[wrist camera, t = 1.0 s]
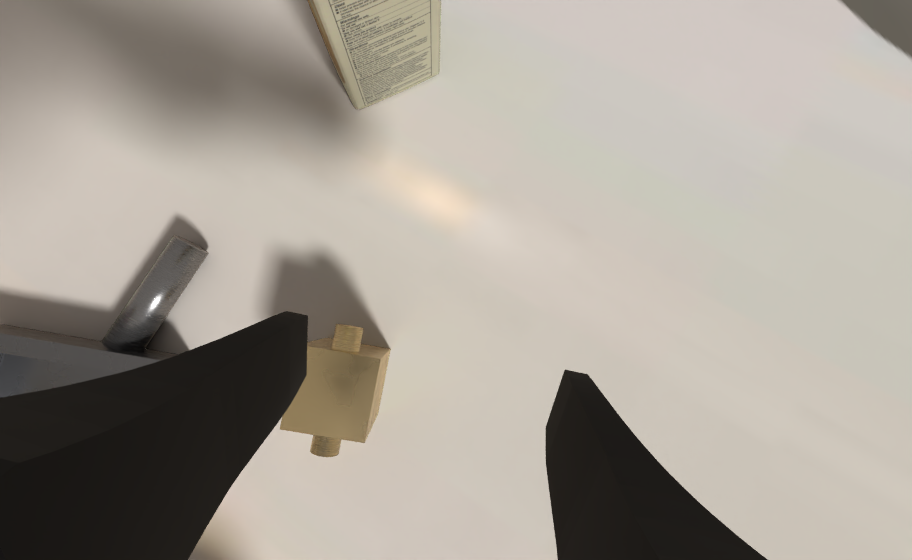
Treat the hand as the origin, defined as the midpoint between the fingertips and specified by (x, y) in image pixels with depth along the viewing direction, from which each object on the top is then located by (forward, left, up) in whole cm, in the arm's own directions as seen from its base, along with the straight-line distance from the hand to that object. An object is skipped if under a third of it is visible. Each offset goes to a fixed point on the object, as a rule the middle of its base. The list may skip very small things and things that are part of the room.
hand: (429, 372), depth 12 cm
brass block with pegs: (-3, +4, -15) cm, 16 cm away
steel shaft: (0, +16, -15) cm, 22 cm away
